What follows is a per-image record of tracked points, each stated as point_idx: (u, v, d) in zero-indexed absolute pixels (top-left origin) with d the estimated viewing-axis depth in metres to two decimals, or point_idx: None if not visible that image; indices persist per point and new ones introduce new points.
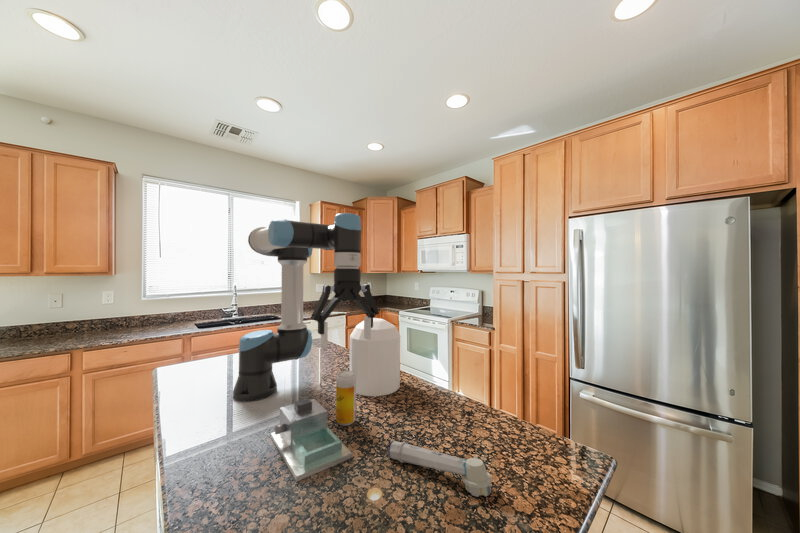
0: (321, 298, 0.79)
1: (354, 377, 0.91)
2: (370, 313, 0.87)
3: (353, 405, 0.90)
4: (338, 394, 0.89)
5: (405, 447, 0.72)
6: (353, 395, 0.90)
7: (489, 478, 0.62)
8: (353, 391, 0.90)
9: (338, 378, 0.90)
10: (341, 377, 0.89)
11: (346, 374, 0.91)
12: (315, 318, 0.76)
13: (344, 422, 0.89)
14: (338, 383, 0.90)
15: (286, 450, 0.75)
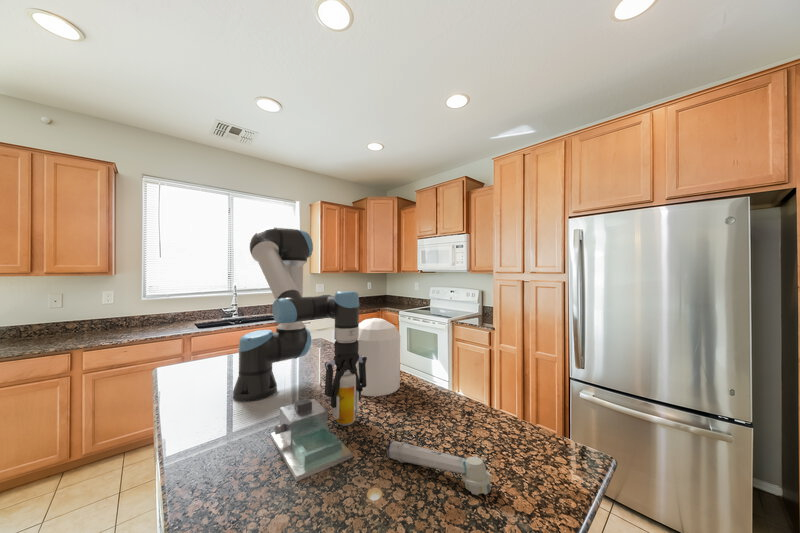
0: (327, 375, 0.88)
1: (354, 377, 0.91)
2: (359, 386, 0.93)
3: (353, 405, 0.90)
4: (338, 394, 0.89)
5: (405, 447, 0.72)
6: (353, 395, 0.90)
7: (489, 476, 0.63)
8: (353, 391, 0.90)
9: None
10: (341, 377, 0.89)
11: (346, 374, 0.91)
12: (329, 395, 0.87)
13: (344, 422, 0.89)
14: None
15: (286, 450, 0.75)
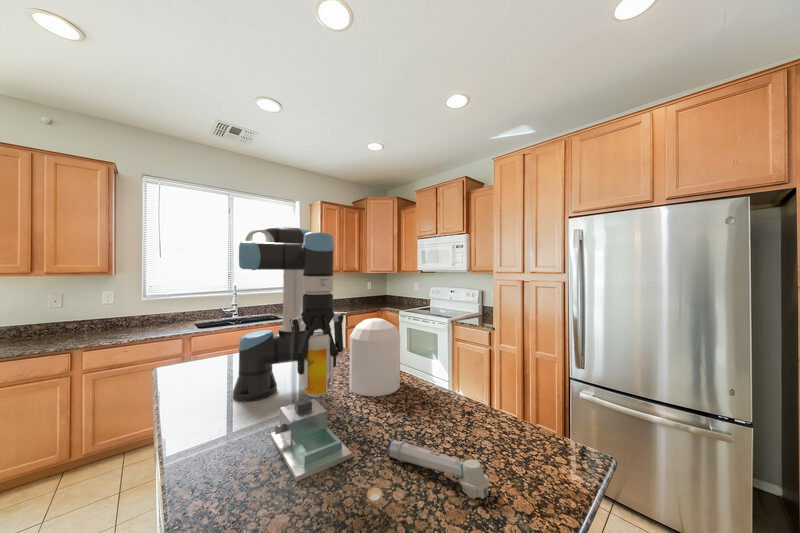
0: (292, 334, 0.71)
1: (327, 338, 0.74)
2: (333, 350, 0.76)
3: (325, 372, 0.73)
4: (307, 358, 0.72)
5: (404, 446, 0.72)
6: (325, 359, 0.73)
7: (486, 480, 0.62)
8: (326, 354, 0.73)
9: None
10: (310, 337, 0.72)
11: (317, 334, 0.74)
12: (294, 358, 0.70)
13: (314, 392, 0.72)
14: None
15: (286, 450, 0.75)
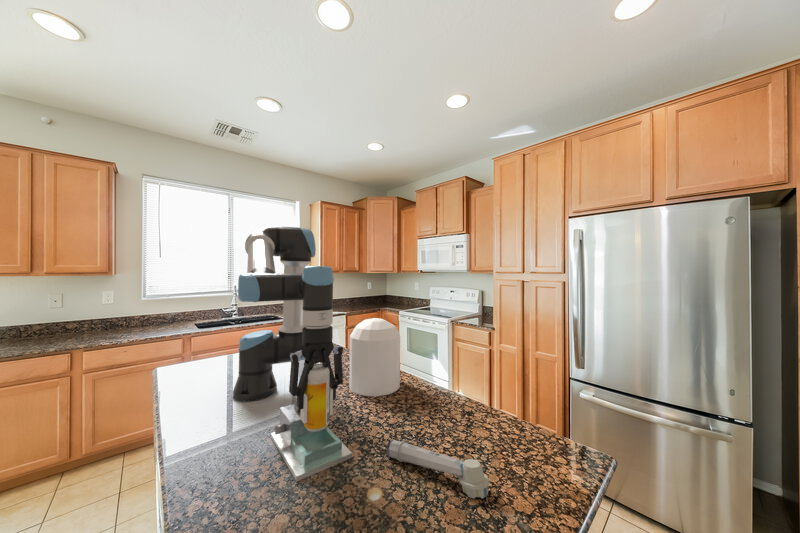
0: (292, 369, 0.71)
1: (327, 371, 0.74)
2: (333, 383, 0.76)
3: (325, 406, 0.73)
4: (306, 392, 0.72)
5: (404, 446, 0.72)
6: (325, 394, 0.73)
7: (486, 480, 0.62)
8: (325, 388, 0.73)
9: None
10: (310, 371, 0.72)
11: (317, 368, 0.74)
12: (293, 394, 0.70)
13: (313, 427, 0.71)
14: None
15: (286, 450, 0.75)
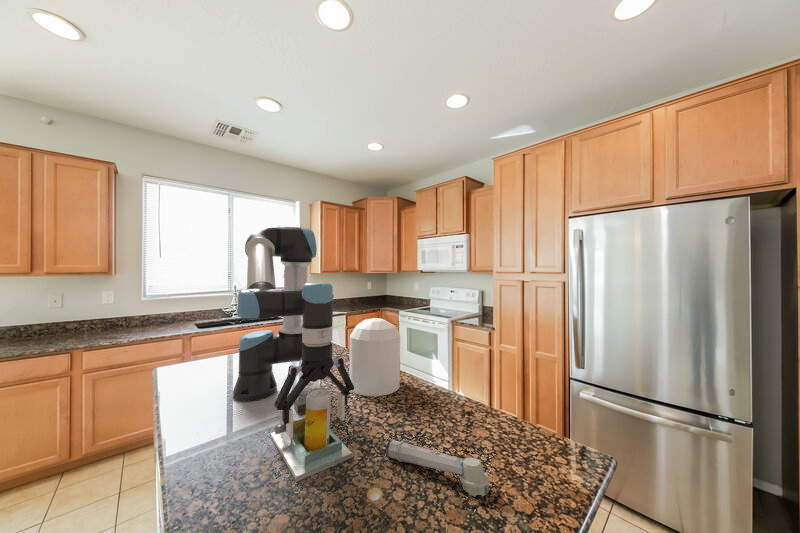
0: (286, 382, 0.70)
1: (328, 397, 0.74)
2: (344, 390, 0.78)
3: (325, 431, 0.73)
4: (307, 417, 0.72)
5: (404, 446, 0.72)
6: (326, 419, 0.73)
7: (486, 478, 0.62)
8: (326, 414, 0.73)
9: (308, 397, 0.73)
10: (311, 396, 0.72)
11: (318, 392, 0.74)
12: (278, 408, 0.68)
13: None
14: (308, 404, 0.72)
15: (286, 450, 0.75)
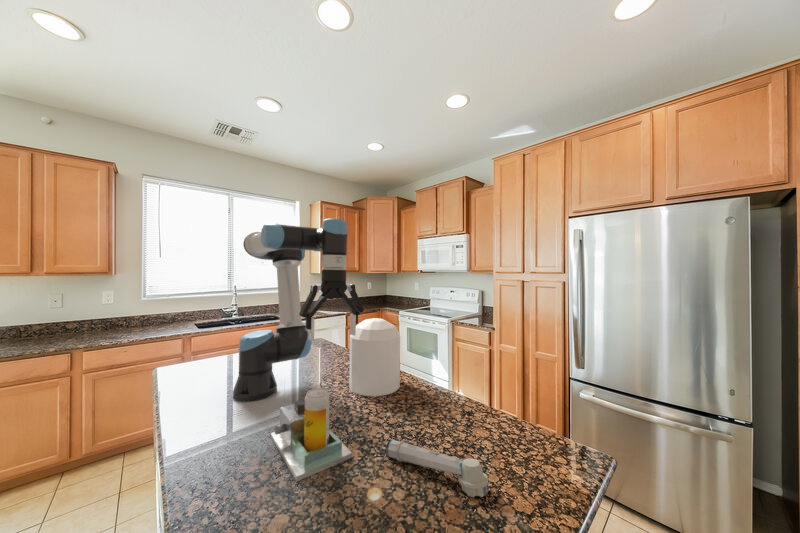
0: (309, 296, 0.86)
1: (327, 397, 0.74)
2: (355, 311, 0.94)
3: (325, 432, 0.73)
4: (306, 418, 0.72)
5: (403, 446, 0.72)
6: (325, 419, 0.73)
7: (485, 479, 0.62)
8: (325, 414, 0.73)
9: (306, 398, 0.73)
10: (310, 397, 0.72)
11: (317, 393, 0.74)
12: (303, 315, 0.84)
13: None
14: (306, 405, 0.72)
15: (286, 450, 0.75)
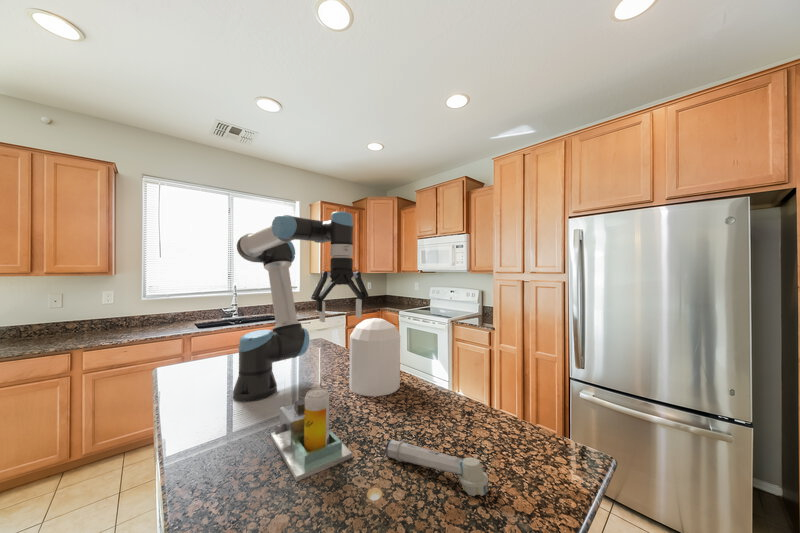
0: (320, 282, 0.95)
1: (326, 397, 0.74)
2: (361, 296, 1.03)
3: (325, 432, 0.73)
4: (306, 418, 0.72)
5: (403, 446, 0.72)
6: (325, 419, 0.73)
7: (485, 478, 0.62)
8: (325, 414, 0.73)
9: (306, 398, 0.73)
10: (310, 397, 0.72)
11: (317, 393, 0.74)
12: (315, 298, 0.93)
13: None
14: (306, 405, 0.72)
15: (286, 450, 0.75)
